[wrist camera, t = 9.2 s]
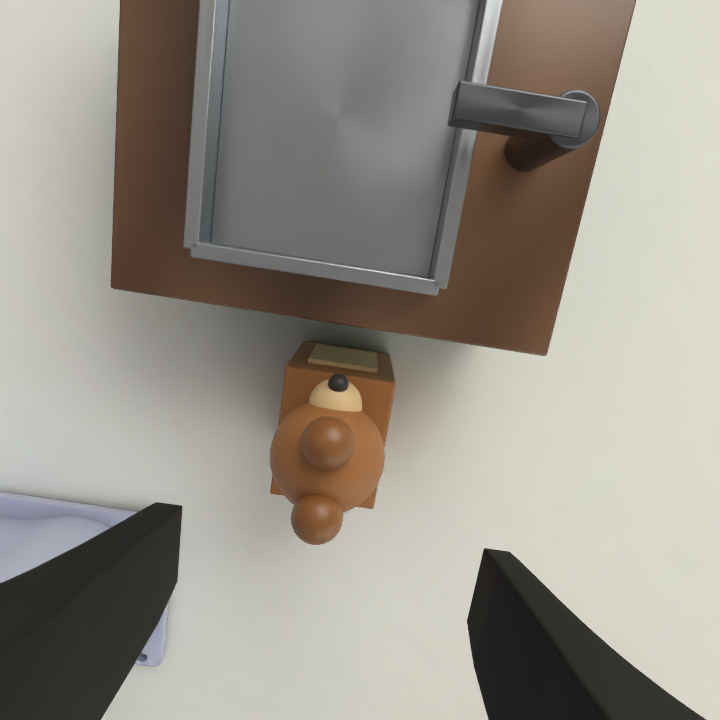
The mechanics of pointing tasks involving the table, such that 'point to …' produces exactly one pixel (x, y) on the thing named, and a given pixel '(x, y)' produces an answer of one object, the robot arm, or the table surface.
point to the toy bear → (331, 435)
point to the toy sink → (362, 157)
